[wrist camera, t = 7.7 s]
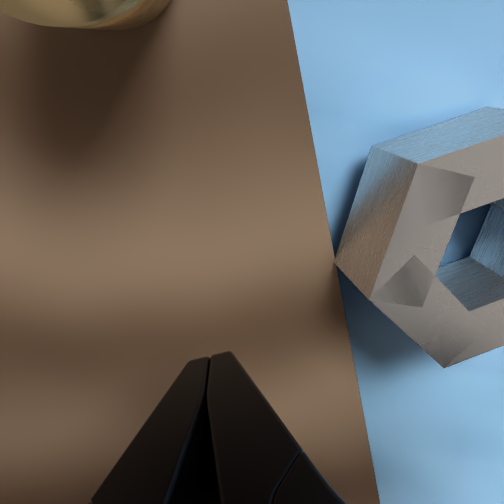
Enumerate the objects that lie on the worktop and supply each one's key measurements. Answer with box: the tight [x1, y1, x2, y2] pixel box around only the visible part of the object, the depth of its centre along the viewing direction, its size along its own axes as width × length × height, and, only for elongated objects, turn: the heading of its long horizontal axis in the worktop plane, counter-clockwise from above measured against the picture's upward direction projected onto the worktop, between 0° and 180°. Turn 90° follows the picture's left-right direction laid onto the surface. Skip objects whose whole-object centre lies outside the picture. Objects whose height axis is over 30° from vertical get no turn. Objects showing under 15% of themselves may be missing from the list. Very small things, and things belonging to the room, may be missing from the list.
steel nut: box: [334, 107, 504, 368], centre depth 11 cm, size 5×6×2 cm
